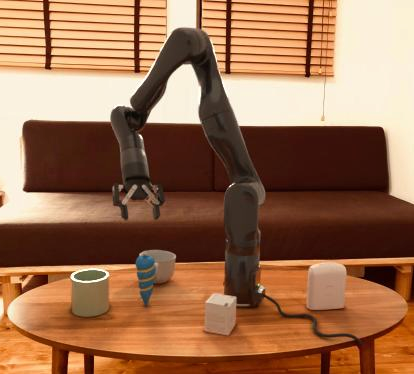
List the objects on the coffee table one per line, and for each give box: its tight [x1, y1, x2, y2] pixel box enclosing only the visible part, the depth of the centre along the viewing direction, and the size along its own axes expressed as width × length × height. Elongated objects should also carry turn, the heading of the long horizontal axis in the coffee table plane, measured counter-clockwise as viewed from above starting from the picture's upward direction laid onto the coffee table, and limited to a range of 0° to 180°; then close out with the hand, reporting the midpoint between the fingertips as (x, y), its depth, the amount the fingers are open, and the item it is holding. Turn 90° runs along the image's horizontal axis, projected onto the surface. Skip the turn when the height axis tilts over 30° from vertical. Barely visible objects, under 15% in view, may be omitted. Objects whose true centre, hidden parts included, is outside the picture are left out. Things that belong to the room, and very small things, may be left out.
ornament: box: [135, 253, 156, 307], centre depth 120 cm, size 5×5×15 cm
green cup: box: [70, 268, 110, 318], centre depth 118 cm, size 9×9×9 cm
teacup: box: [138, 249, 177, 284], centre depth 137 cm, size 14×11×8 cm
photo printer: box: [306, 261, 347, 311], centre depth 123 cm, size 10×4×12 cm, turn 100°
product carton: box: [203, 292, 237, 336], centre depth 110 cm, size 6×6×7 cm
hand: (141, 219), depth 126 cm, fingers open, 8 cm apart
